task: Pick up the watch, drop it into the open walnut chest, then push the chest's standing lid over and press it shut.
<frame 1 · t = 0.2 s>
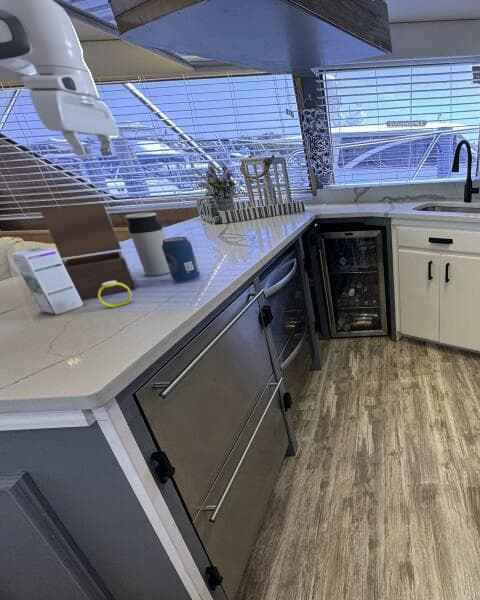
hand: (96, 155, 76), 33 cm above the worktop, tool pointing down, fingers open, 8 cm apart
travel mug: (161, 272, 102), on the worktop
chest lid: (83, 231, 87), point 15 cm above the worktop, hinge at 100.0°
soda can: (187, 279, 94), on the worktop
chest: (106, 289, 89), on the worktop
watch: (120, 306, 78), on the worktop
syrup box: (63, 309, 77), on the worktop
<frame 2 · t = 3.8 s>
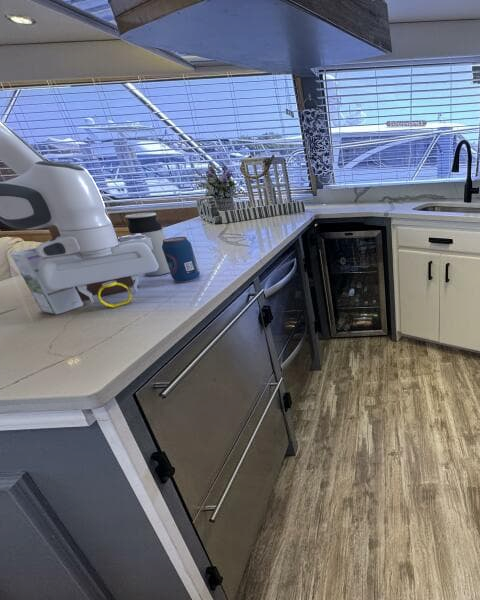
hand: (116, 297, 77), 2 cm above the worktop, tool pointing down, fingers closed on watch, 6 cm apart
watch: (120, 306, 78), on the worktop, touching gripper
everything else where it was.
when the fingers open (9 cm above the worktop, at t = 10.7 s): watch drops 6 cm, resting on chest.
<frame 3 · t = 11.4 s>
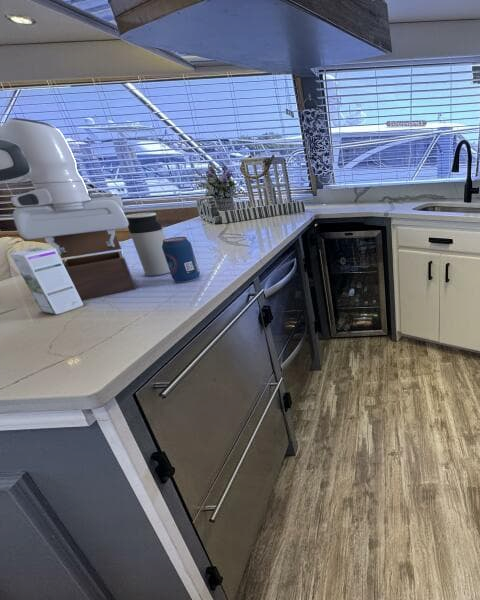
hand: (88, 250, 83), 11 cm above the worktop, tool pointing down, fingers open, 8 cm apart
watch: (104, 288, 88), point 1 cm above the worktop, touching chest
everything else where it was.
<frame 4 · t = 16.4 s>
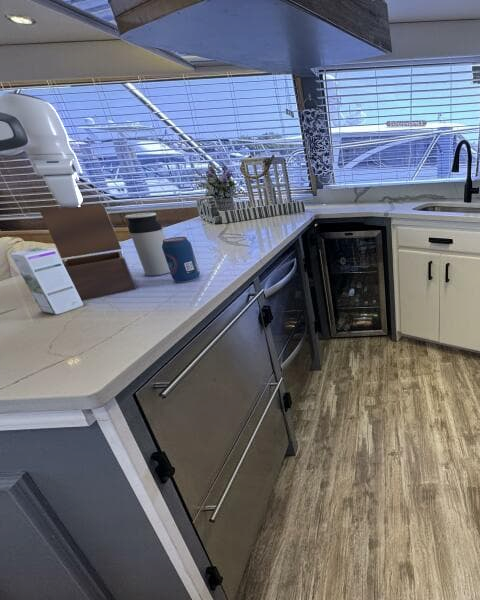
hand: (80, 221, 89), 18 cm above the worktop, tool pointing down, fingers closed
chest lid: (83, 231, 87), point 15 cm above the worktop, hinge at 95.2°, touching gripper
everything else where it was.
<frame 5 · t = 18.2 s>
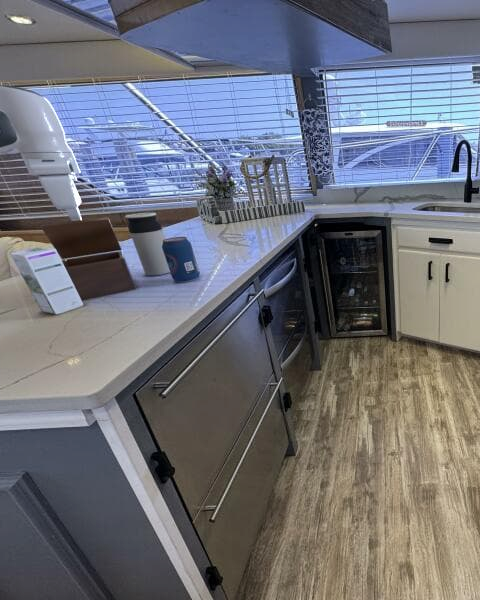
hand: (78, 224, 82), 18 cm above the worktop, tool pointing down, fingers closed
chest lid: (84, 238, 84), point 14 cm above the worktop, hinge at 50.4°, touching gripper
everything else where it was.
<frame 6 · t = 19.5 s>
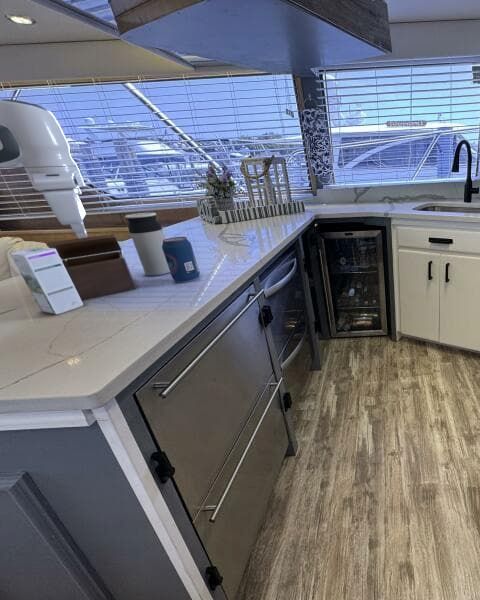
hand: (83, 238, 81), 15 cm above the worktop, tool pointing down, fingers closed
chest lid: (87, 246, 84), point 12 cm above the worktop, hinge at 26.3°, touching gripper
everything else where it was.
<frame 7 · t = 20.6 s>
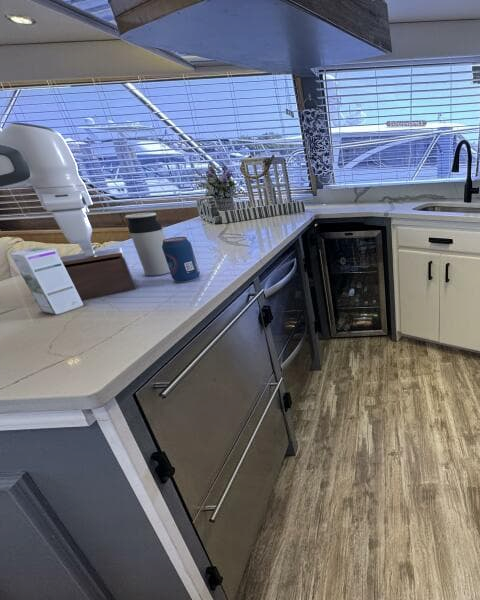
hand: (90, 255, 83), 10 cm above the worktop, tool pointing down, fingers closed
chest lid: (91, 256, 85), point 10 cm above the worktop, hinge at 3.4°, touching gripper
everything else where it was.
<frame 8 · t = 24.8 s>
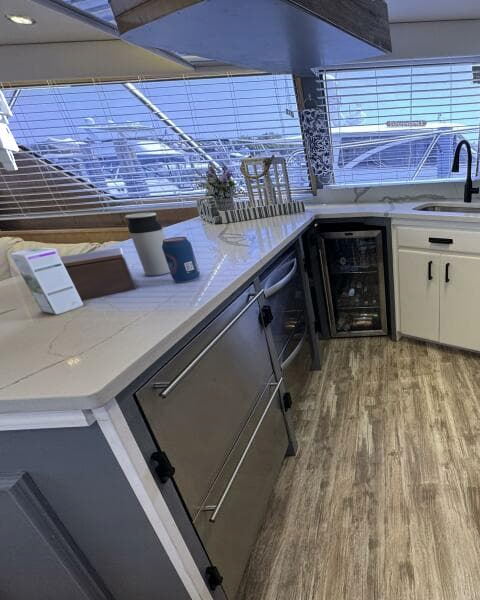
hand: (12, 170, 80), 31 cm above the worktop, tool pointing down, fingers closed
chest lid: (91, 257, 85), point 9 cm above the worktop, hinge at 1.4°
everything else where it was.
at the end: watch inside the target area in the chest (1.0 cm from its centre), point 0.6 cm above the chest's base; chest lid at +1° (first picture: +100°) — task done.
